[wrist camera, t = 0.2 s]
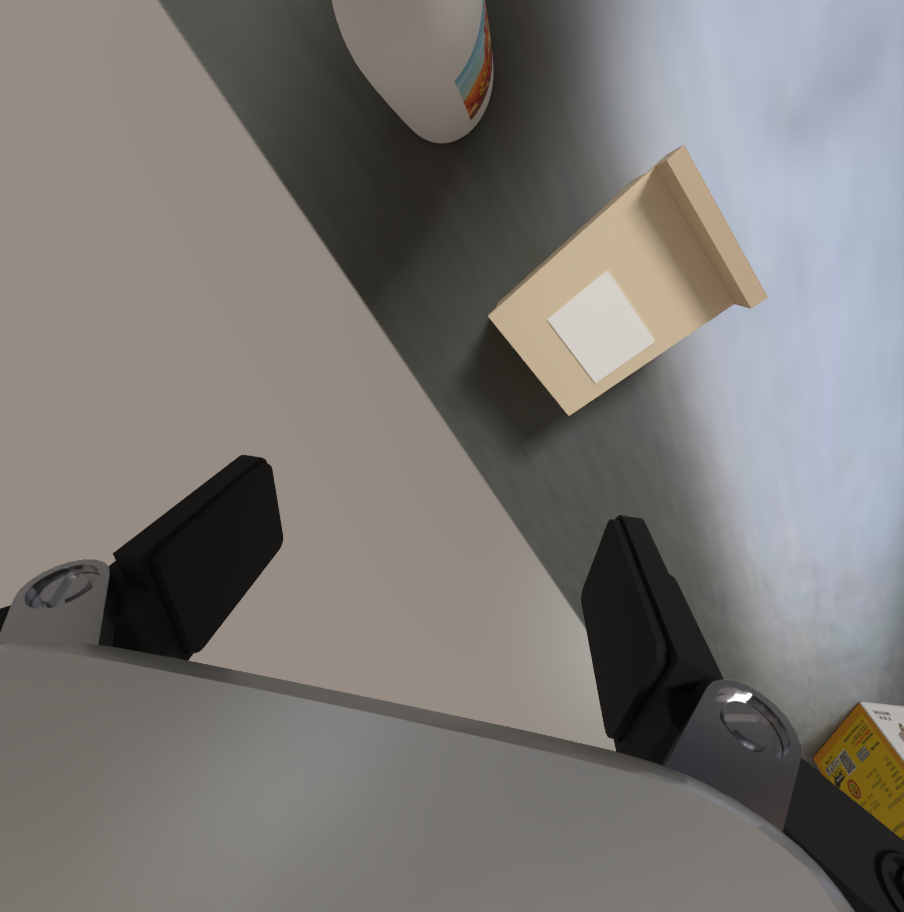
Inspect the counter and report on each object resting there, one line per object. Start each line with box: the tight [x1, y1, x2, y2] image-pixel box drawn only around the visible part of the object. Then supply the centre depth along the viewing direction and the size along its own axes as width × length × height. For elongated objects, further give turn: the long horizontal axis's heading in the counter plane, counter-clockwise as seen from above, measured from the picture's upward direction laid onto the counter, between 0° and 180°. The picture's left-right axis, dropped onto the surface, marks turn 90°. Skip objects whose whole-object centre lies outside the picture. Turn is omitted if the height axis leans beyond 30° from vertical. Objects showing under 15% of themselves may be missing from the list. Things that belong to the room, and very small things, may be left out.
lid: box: [488, 145, 768, 416], centre depth 27 cm, size 14×11×3 cm
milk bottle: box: [332, 0, 493, 143], centre depth 21 cm, size 8×8×20 cm
